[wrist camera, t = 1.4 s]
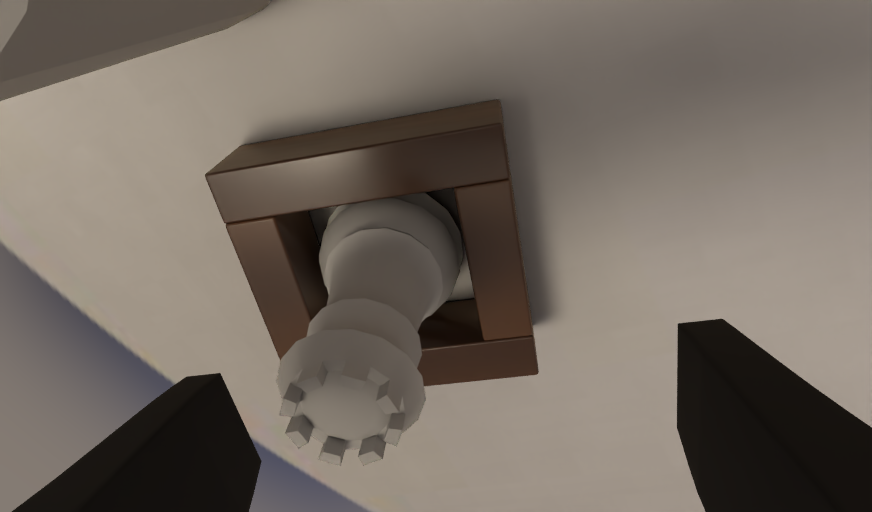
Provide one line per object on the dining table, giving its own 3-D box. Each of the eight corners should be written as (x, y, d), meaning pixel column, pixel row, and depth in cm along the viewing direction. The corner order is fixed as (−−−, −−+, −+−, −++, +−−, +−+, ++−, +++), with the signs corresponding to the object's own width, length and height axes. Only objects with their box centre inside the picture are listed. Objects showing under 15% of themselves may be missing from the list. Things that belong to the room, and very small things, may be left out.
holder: (532, 327, 20) (539, 375, 18) (315, 353, 21) (295, 400, 19) (499, 98, 16) (502, 122, 14) (238, 145, 17) (203, 174, 15)
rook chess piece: (356, 312, 20) (287, 509, 13) (305, 198, 18) (192, 359, 11) (479, 284, 19) (476, 481, 12) (440, 161, 17) (409, 310, 10)
